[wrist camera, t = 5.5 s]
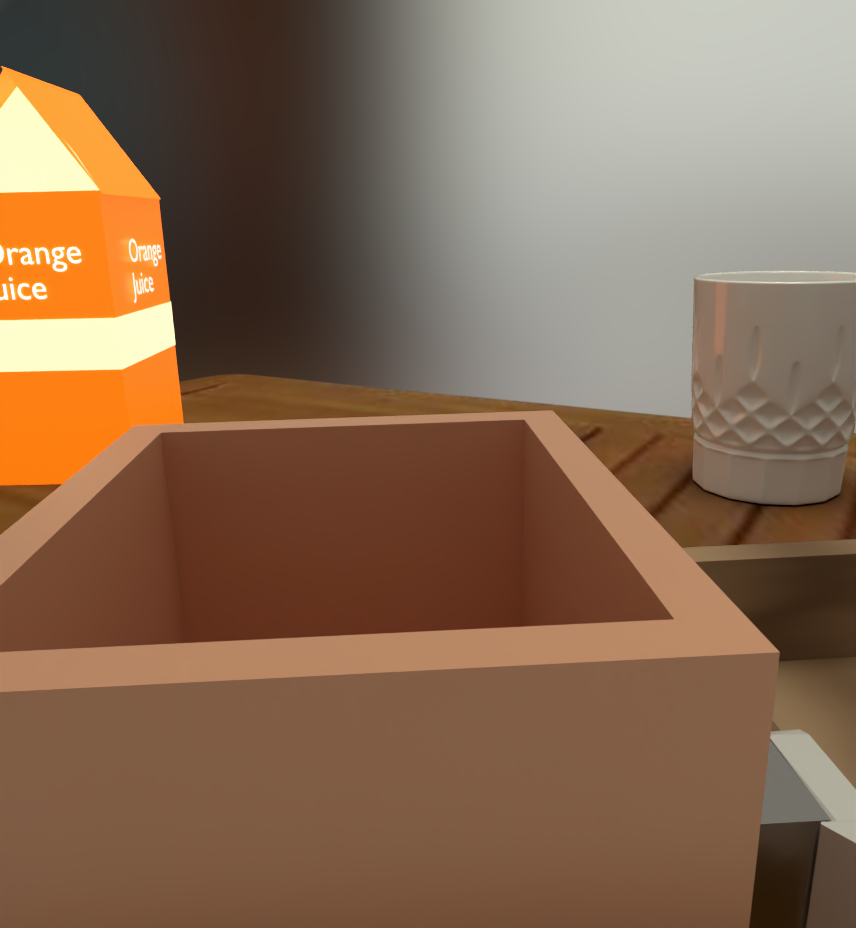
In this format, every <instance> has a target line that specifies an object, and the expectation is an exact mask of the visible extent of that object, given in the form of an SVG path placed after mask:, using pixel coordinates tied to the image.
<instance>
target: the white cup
mask: <svg viewBox="0 0 856 928" xmlns="http://www.w3.org/2000/svg"><path fill="white" fill-rule="evenodd" d="M855 422H856V273H850V272H826V271H747V272H723V273H710V274H702V275H697V276H695V277H694V305H693V344H692V424H693V428H694V431H695V433H694V443H693V475H692V476H693V480H694V481H695V482H696V483H697V484H698V485H699V486H701V487H702V488H703V489H704V490H706V491H709V492H712V493H715V494H718V495H720V496H723V497H726V498H730V499H735V500H741V501H747V502H753V503H759V504H775V505H802V504H810V503H818V502H824V501H826V500H828V499H830V498H832V497H834V496H836V495H838V494H839V493H840V491H841V486H842V480H843V474H844V468H845V463H846V457H847V451H848V442H849V440H850V438H851V437H852V435H853V432H854V428H855Z"/></svg>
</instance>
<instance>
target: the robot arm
mask: <svg viewBox="0 0 856 928" xmlns="http://www.w3.org/2000/svg"><path fill="white" fill-rule="evenodd" d="M749 928H856V789H855V788H854V786H853V785H852V784H851V783H850V782H849V781H848V779H847V778H846V777H845V776H844V775H843V774H842V772H841V771H840V770H839V769H838V768H837V767H836V765H835V764H834V763H833V762H832V761H831V760H830V758H829V757H828V756H827V755H826V754H825V753H824V751H823V750H822V749H821V748H820V747H819V746H818V744H817V743H816V742H815V741H814V740H813V739H812V737H811V736H810V735H809V734H808V733H806V732H804V731H802V730H800V729H796V730H784V731H772V732H771V736H770V745H769V754H768V763H767V772H766V780H765V789H764V798H763V807H762V816H761V825H760V834H759V843H758V852H757V861H756V870H755V879H754V888H753V897H752V906H751V915H750V924H749Z"/></svg>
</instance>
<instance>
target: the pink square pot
mask: <svg viewBox="0 0 856 928" xmlns="http://www.w3.org/2000/svg"><path fill="white" fill-rule="evenodd" d="M779 655H780V652H779V651H778V650H777V649H776V648H775V647H774V646H773V644H772V643H771V642H770V641H769V640H768V639H767V638H766V637H765V636H764V635H763V634H762V633H761V632H760V631H759V630H758V628H757V627H756V626H755V625H754V624H753V623H752V622H751V621H750V620H749V619H748V618H747V617H746V616H745V615H744V614H743V613H742V611H741V610H740V609H739V608H738V607H737V606H736V605H735V604H734V603H733V602H732V601H731V600H730V599H729V598H728V597H727V596H726V594H725V593H724V592H723V591H722V590H721V589H720V588H719V587H718V586H717V585H716V584H715V583H714V582H713V581H712V580H711V579H710V577H709V576H708V575H707V574H706V573H705V572H704V571H703V570H702V569H701V568H700V567H699V566H698V565H697V564H696V563H695V562H694V560H693V559H692V558H691V557H690V556H689V555H688V554H687V553H686V552H685V551H684V550H683V549H682V548H681V547H680V546H679V544H678V543H677V542H676V541H675V540H674V539H673V538H672V537H671V536H670V535H669V534H668V533H667V532H666V531H665V530H664V529H663V527H662V526H661V525H660V524H659V523H658V522H657V521H656V520H655V519H654V518H653V517H652V516H651V515H650V514H649V513H648V512H647V510H646V509H645V508H644V507H643V506H642V505H641V504H640V503H639V502H638V501H637V500H636V499H635V498H634V497H633V496H632V495H631V493H630V492H629V491H628V490H627V489H626V488H625V487H624V486H623V485H622V484H621V483H620V482H619V481H618V480H617V479H616V478H615V476H614V475H613V474H612V473H611V472H610V471H609V470H608V469H607V468H606V467H605V466H604V465H603V464H602V463H601V462H600V461H599V459H598V458H597V457H596V456H595V455H594V454H593V453H592V452H591V451H590V450H589V449H588V448H587V447H586V446H585V445H584V443H583V442H582V441H581V440H580V439H579V438H578V437H577V436H576V435H575V434H574V433H573V432H572V431H571V430H570V429H569V428H568V426H567V425H566V424H565V423H564V422H563V421H562V420H561V419H560V418H559V417H558V416H557V415H556V414H555V413H554V412H553V411H524V412H496V413H468V414H439V415H411V416H383V417H355V418H327V419H299V420H270V421H242V422H214V423H186V424H158V425H134V426H133V427H132V428H131V429H129V430H128V431H127V432H126V433H124V434H123V435H122V436H121V437H120V438H118V439H117V440H116V441H115V442H113V443H112V444H111V445H110V446H109V447H107V448H106V449H105V450H104V451H102V452H101V453H100V454H99V455H98V456H96V457H95V458H94V459H93V460H91V461H90V462H89V463H88V464H87V465H85V466H84V467H83V468H82V469H80V470H79V471H78V472H77V473H76V474H74V475H73V476H72V477H71V478H69V479H68V480H67V481H66V482H65V483H63V484H62V485H61V486H60V487H58V488H57V489H56V490H55V491H54V492H52V493H51V494H50V495H49V496H47V497H46V498H45V499H44V500H43V501H41V502H40V503H39V504H38V505H36V506H35V507H34V508H33V509H32V510H30V511H29V512H28V513H27V514H25V515H24V516H23V517H22V518H21V519H19V520H18V521H17V522H16V523H14V524H13V525H12V526H11V527H10V528H8V529H7V530H6V531H5V532H3V533H2V534H1V535H0V928H749V924H750V915H751V906H752V897H753V888H754V879H755V870H756V861H757V852H758V843H759V834H760V825H761V816H762V807H763V798H764V789H765V780H766V772H767V763H768V754H769V745H770V736H771V727H772V718H773V709H774V700H775V691H776V682H777V673H778V664H779Z"/></svg>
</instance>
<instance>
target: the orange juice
mask: <svg viewBox="0 0 856 928" xmlns="http://www.w3.org/2000/svg"><path fill="white" fill-rule="evenodd" d="M1 67H2V66H1ZM2 68H3V71H2V73H1V75H0V485H36V484H63V483H65V482H66V481H67V480H68V479H69V478H71V477H72V476H73V475H74V474H76V473H77V472H78V471H79V470H80V469H82V468H83V467H84V466H85V465H87V464H88V463H89V462H90V461H91V460H93V459H94V458H95V457H96V456H98V455H99V454H100V453H101V452H102V451H104V450H105V449H106V448H107V447H109V446H110V445H111V444H112V443H113V442H115V441H116V440H117V439H118V438H120V437H121V436H122V435H123V434H124V433H126V432H127V431H128V430H129V429H131V428H132V427H133V426H134V425H158V424H184V423H183V414H182V405H181V396H180V387H179V379H178V369H177V361H176V351H175V335H174V326H173V317H172V309H171V302H170V297H169V288H168V279H167V270H166V261H165V253H164V243H163V234H162V225H161V216H160V207H159V199H160V198H159V196H158V195H157V194H156V192H155V191H154V190H153V189H152V187H151V186H150V185H149V184H148V182H147V181H146V180H145V178H144V177H143V176H142V174H141V173H140V172H139V171H138V169H137V168H136V167H135V165H134V164H133V163H132V162H131V160H130V159H129V158H128V156H127V155H126V154H125V153H124V151H123V150H122V149H121V147H120V146H119V145H118V144H117V142H116V141H115V140H114V138H112V136H111V135H110V134H109V132H108V131H107V129H106V128H105V127H104V126H103V124H102V123H101V122H100V121H99V119H98V118H97V117H96V115H95V114H94V113H93V112H92V110H91V109H90V108H89V106H88V105H87V104H86V103H85V101H84V100H83V99H82V97H81V96H80V95H79V94H76V93H73V92H71V91H68V90H65V89H62V88H59V87H57V86H54V85H51V84H49V83H46V82H43V81H41V80H38V79H35V78H33V77H30V76H27V75H24V74H22V73H19V72H16V71H13V70H11V69H8V68H5V67H2Z"/></svg>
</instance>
